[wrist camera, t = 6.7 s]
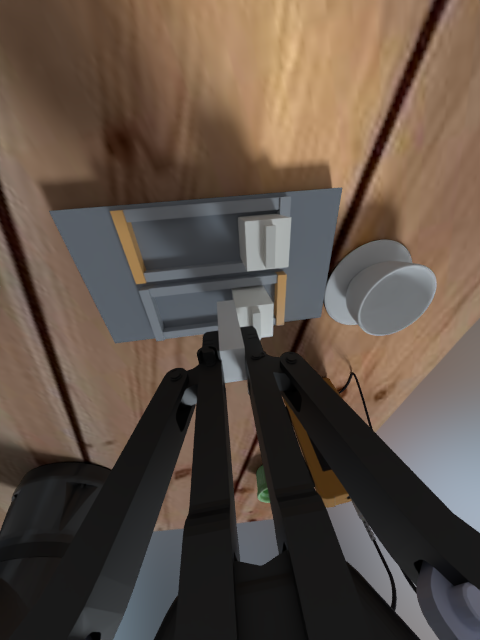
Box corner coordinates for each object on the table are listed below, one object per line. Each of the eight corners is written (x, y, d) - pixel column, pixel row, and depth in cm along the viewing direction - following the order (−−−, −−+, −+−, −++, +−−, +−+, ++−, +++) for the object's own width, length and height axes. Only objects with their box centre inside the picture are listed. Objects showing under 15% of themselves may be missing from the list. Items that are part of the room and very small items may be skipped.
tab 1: (240, 257, 18) (248, 274, 14) (237, 216, 16) (246, 222, 12) (273, 254, 18) (291, 269, 14) (274, 213, 16) (295, 218, 12)
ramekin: (248, 466, 42) (251, 492, 38) (289, 453, 41) (297, 478, 37) (260, 481, 46) (264, 506, 43) (297, 470, 46) (305, 494, 42)
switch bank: (120, 334, 22) (111, 349, 20) (62, 210, 16) (38, 211, 13) (314, 310, 23) (325, 321, 21) (332, 188, 17) (349, 187, 15)
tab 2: (234, 317, 21) (239, 345, 17) (231, 288, 19) (236, 312, 15) (262, 313, 21) (275, 340, 17) (262, 284, 19) (276, 307, 15)
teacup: (313, 323, 25) (332, 347, 21) (336, 237, 20) (368, 247, 16) (386, 321, 26) (417, 343, 22) (425, 239, 21) (476, 249, 17)
